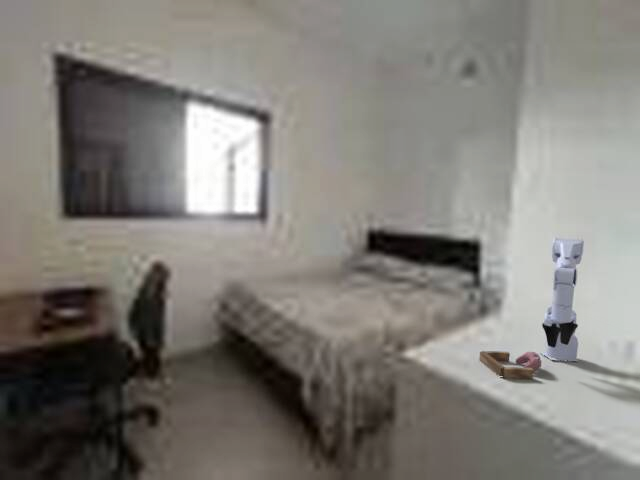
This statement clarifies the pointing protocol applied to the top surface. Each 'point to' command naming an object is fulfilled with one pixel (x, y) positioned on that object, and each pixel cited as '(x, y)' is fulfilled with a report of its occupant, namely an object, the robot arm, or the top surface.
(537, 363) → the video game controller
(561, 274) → the robot arm
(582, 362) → the top surface
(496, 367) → the docking bay
